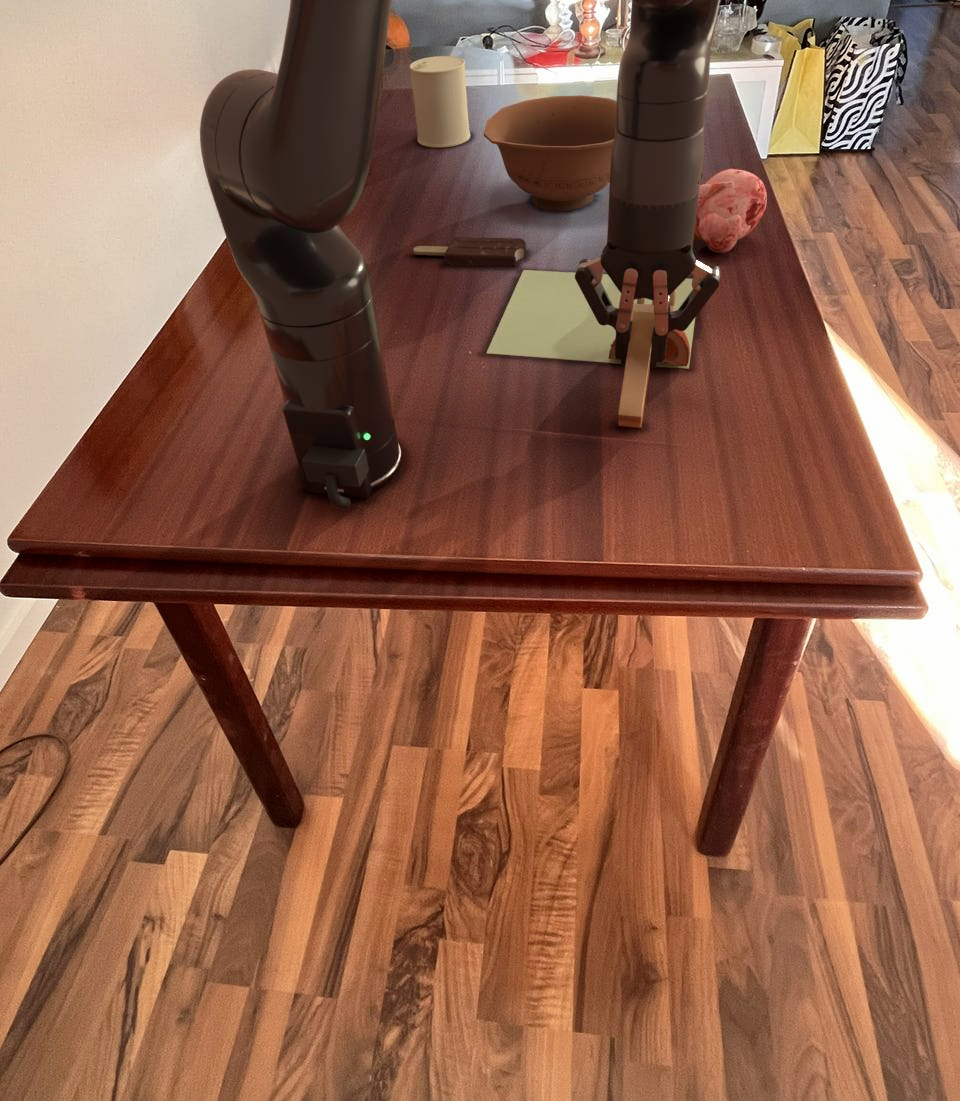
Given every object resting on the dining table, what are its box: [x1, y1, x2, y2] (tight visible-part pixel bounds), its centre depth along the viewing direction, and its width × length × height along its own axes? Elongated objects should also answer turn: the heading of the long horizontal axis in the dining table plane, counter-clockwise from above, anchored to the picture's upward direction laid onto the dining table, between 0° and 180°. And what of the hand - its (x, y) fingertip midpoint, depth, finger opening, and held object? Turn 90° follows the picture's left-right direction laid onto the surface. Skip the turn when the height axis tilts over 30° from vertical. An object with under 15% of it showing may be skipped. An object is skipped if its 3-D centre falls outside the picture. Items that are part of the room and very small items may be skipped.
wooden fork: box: [617, 288, 677, 429], centre depth 79 cm, size 17×5×3 cm
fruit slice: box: [608, 329, 691, 366], centre depth 85 cm, size 8×7×5 cm
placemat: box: [486, 269, 696, 370], centre depth 94 cm, size 20×22×1 cm
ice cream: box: [694, 168, 768, 254], centre depth 103 cm, size 11×10×15 cm
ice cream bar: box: [413, 236, 527, 268], centre depth 107 cm, size 5×2×15 cm
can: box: [409, 55, 471, 149], centre depth 136 cm, size 9×9×12 cm
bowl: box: [483, 95, 616, 212], centre depth 115 cm, size 22×22×11 cm
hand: (639, 361), depth 81 cm, fingers closed on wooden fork, 2 cm apart
